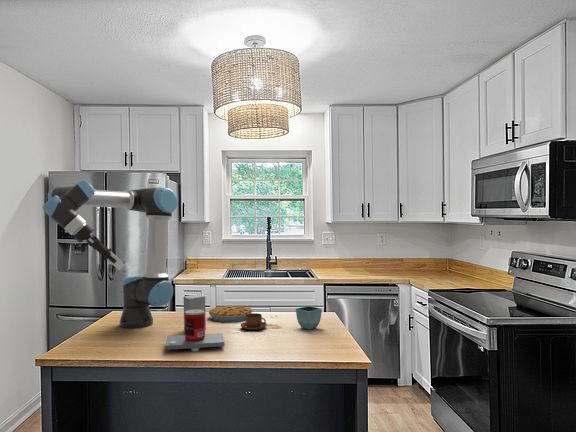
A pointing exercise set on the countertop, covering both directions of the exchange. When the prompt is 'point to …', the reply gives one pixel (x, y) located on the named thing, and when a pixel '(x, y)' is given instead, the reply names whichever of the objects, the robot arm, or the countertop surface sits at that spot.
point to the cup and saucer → (254, 322)
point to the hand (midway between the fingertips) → (121, 266)
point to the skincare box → (194, 304)
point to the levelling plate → (182, 343)
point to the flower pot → (308, 317)
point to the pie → (229, 313)
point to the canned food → (194, 325)
